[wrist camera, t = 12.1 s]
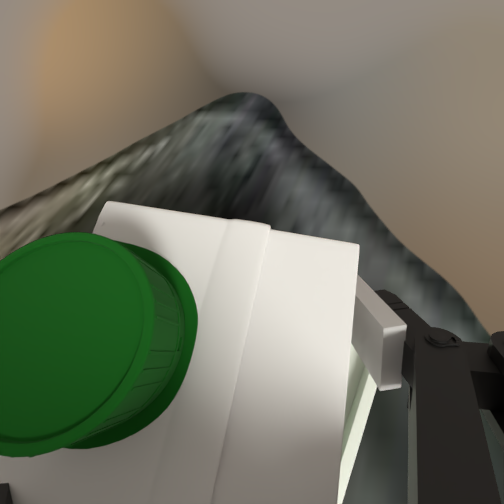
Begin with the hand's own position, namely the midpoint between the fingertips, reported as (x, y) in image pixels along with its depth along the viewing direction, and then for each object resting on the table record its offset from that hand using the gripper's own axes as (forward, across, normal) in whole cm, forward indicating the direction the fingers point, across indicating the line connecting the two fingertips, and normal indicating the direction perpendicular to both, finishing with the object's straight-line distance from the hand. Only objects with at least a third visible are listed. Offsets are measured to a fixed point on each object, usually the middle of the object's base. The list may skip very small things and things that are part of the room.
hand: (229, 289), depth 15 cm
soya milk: (+5, 0, -10) cm, 11 cm away
